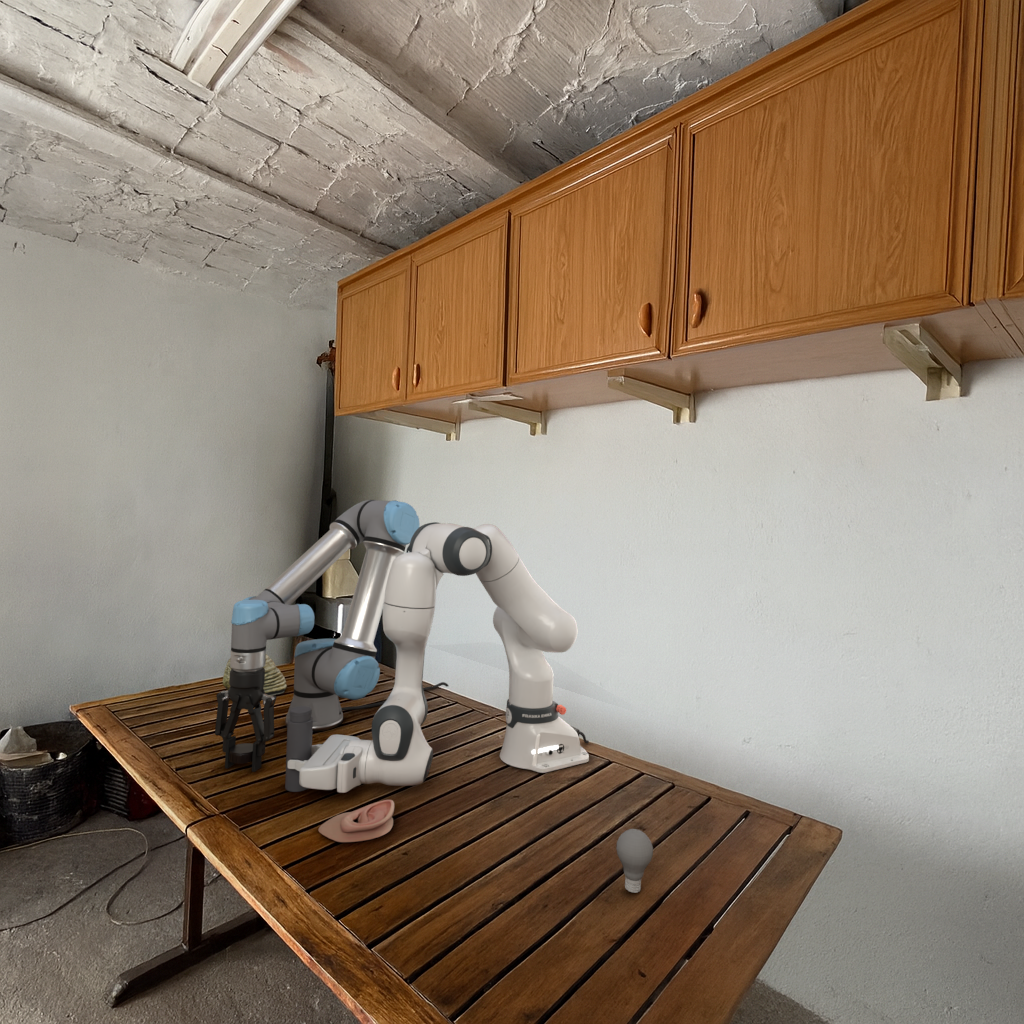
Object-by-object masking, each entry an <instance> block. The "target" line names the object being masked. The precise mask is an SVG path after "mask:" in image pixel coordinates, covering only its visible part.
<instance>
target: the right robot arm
mask: <svg viewBox="0 0 1024 1024" xmlns="http://www.w3.org/2000/svg"><path fill="white" fill-rule="evenodd" d="M405 551H406V552H404V554H401V555H399V556H398V557H396V558H395V560H394V561H393V563H392V566H391V569H390V573H389V576H388V580H387V585H386V590H385V596H384V604H383V610H382V628H383V632H384V634H385V637H386V638H387V639H388V640H389V641H391V642H392V643H393V644H394V646H395V649H396V650H395V651H396V662H395V672H394V676H395V677H394V685H393V688H392V690H391V692H390V693H389V695H388V697H387V698H386V699H385V700H384V701H385V703H384V704H383V705H380V707H379V708H378V710H377V711H376V712H375V714H374V715H373V718H372V721H371V738H372V739H360V738H359V737H358V736H353V735H348V734H347V735H346V734H337V733H336V734H332V735H330V736H329V737H328V738H327V739H326V740H325V741H324V742H323V743H322V744H321V743H318V744H312V757H311V758H310V759H309V760H304V761H300V760H298V758H291V759H290V760H289V761H288V766H287V767H288V768H289V769H295V770H297V771H299V772H300V775H299V784H300V785H301V786H303V787H305V788H308V789H312V790H320V791H333V790H335V789H336V792H337V793H340V794H344V793H348V792H350V791H351V790H352V789H355V788H357V787H359V786H361V785H362V784H363V785H372V784H382V785H386V786H390V787H391V786H392V787H411V786H413V787H414V786H419V785H421V784H423V783H424V782H425V781H426V780H427V778H428V776H429V773H430V770H431V768H432V763H433V758H434V749H433V747H431V746H430V744H429V742H428V741H427V739H426V737H425V735H424V733H423V730H422V725H423V724H424V723H425V721H426V719H427V717H428V713H429V706H428V701H427V697H426V695H425V691H423V688H424V685H423V677H424V666H425V654H426V647H427V643H428V640H429V638H430V633H431V630H432V627H433V622H434V617H435V610H436V600H437V588H438V586H439V583H440V581H441V579H442V578H443V576H444V574H450V575H454V576H458V577H467V576H471V575H475V576H477V578H478V580H479V582H480V583H481V584H482V586H483V588H484V590H485V591H486V592H487V594H488V596H489V598H490V599H491V601H492V602H493V603H494V605H496V606H497V607H496V608H495V610H494V612H493V616H492V624H493V628H494V629H495V631H496V632H497V634H498V636H499V637H500V639H501V642H502V645H503V648H504V652H505V655H506V656H505V657H506V661H507V664H508V678H509V679H508V698H507V700H506V708H505V722H506V725H505V726H506V727H505V731H504V732H505V733H504V738H503V742H502V746H501V749H500V752H499V758H500V761H502V762H503V763H504V764H507V765H508V766H511V767H514V768H518V769H523V770H529V771H533V772H535V773H536V772H537V773H540V774H544V773H549V772H550V773H551V772H553V771H557V770H561V769H565V768H569V767H570V768H571V767H573V766H578V765H581V764H585V763H589V761H590V756H589V755H590V754H589V753H588V752H587V750H586V749H585V748H584V747H583V746H582V745H581V741H580V736H581V737H582V739H583V742H584V743H585V744H589V743H590V741H589V740H588V739H587V738H586V735H585V733H584V732H582V731H580V729H579V728H576V727H574V726H572V725H570V724H569V723H568V722H567V721H565V720H564V719H563V718H562V717H560V716H564V715H565V714H566V713H567V708H566V707H565V706H563V704H559V703H557V702H556V701H554V699H553V698H554V679H555V678H554V677H555V674H554V671H553V668H552V666H551V665H550V663H549V662H548V661H547V659H546V656H545V654H544V653H555V654H556V653H557V654H558V653H561V654H562V653H565V652H567V651H569V650H570V649H571V648H572V647H573V646H574V645H575V642H576V641H577V637H578V633H579V632H578V631H579V630H578V623H577V621H576V618H575V617H574V616H573V615H572V614H571V613H570V612H567V611H566V610H565V609H563V608H562V607H561V606H560V605H559V604H558V603H557V602H556V601H554V600H553V599H552V598H551V596H550V595H549V594H548V593H547V592H546V591H545V590H544V589H543V588H542V587H541V586H540V585H539V584H538V583H537V581H536V580H535V579H534V577H533V576H532V575H531V573H530V572H529V570H528V568H527V567H526V565H525V563H524V561H523V560H522V558H521V556H520V554H519V553H518V552H517V550H516V549H515V547H514V545H513V544H512V542H511V541H510V539H508V537H507V536H506V535H505V534H504V532H503V531H502V530H501V529H500V528H499V527H498V526H496V525H494V524H493V523H492V524H491V523H484V524H479V525H477V526H475V527H474V528H473V527H470V526H464V525H461V524H457V523H450V522H449V523H448V522H447V523H446V522H445V523H443V522H442V523H441V522H438V521H437V522H435V521H434V522H428V523H425V524H423V525H420V527H419V528H418V529H417V530H416V531H415V533H414V534H413V536H412V538H411V541H410V544H408V546H407V547H406V550H405ZM559 715H560V716H559Z"/></svg>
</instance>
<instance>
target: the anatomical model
mask: <svg viewBox="0 0 1024 1024" xmlns="http://www.w3.org/2000/svg"><path fill="white" fill-rule="evenodd" d="M394 812H395V801H394V800H392V799H384V800H380V801H377V802H373V803H370V804H368V805H365V806H363V807H360V808H357V809H355V810H353V811H348V812H343V813H340V814H337V815H334V816H333V817H331V818H330V819H328V820H326V821H325V822H323V823H322V824H321V825H320V826H319V827H318V829H317V830H318V832H319V834H321V835H322V836H324V837H325V838H328V839H330V840H332V841H334V842H337V843H355V842H363V841H370V840H374V839H376V838H380V837H382V836H384V835H386V834H388V833H389V832H390V831H391V830H392V828H393V826H394V818H393V815H394Z"/></svg>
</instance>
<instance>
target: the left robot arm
mask: <svg viewBox="0 0 1024 1024" xmlns="http://www.w3.org/2000/svg"><path fill="white" fill-rule="evenodd" d="M420 524H421V523H420V518H419V515H418V514H417V511H416V509H415V508H414V507H413V506H412V505H411V504H410V503H408V502H405V501H399V500H381V499H366V500H362V501H360V502H357V503H356V504H354V505H352V506H351V507H350V508H348V509H347V510H345V511H344V512H343V513H342V514H340V515H339V516H338V517H337V518H336V519H335V520H334V521H332V522H331V523H330V524H329V530H328V531H327V532H326V533H324V535H322V537H320V538H319V539H318V540H317V541H316V542H315V543H314V544H313V545H311V546H310V547H309V548H308V549H307V550H306V551H305V552H304V553H303V554H302V555H301V556H299V557H298V559H296V560H294V562H293V563H292V564H290V565H289V566H288V567H287V568H286V569H285V570H284V571H283V572H282V573H281V574H280V575H279V576H278V577H277V578H275V579H274V580H273V581H272V582H271V583H270V584H269V585H268V586H267V587H266V588H265V589H264V590H262V591H260V593H259V594H258V595H255V596H254V595H253V596H248V597H246V598H243V599H242V600H238V601H236V602H235V603H234V604H233V607H232V614H231V621H230V623H231V639H230V657H231V659H230V658H229V659H230V667H231V668H232V669H231V670H230V678H229V685H230V688H229V690H227V689H225V690H222V691H219V692H218V693H216V695H215V696H216V700H217V709H216V719H215V727H214V735H215V736H217V737H218V736H219V737H221V738H222V752H223V753H224V754H225V755H224V769H226V770H227V769H229V768H231V767H233V766H234V765H235V764H236V763H232V762H230V761H229V752H230V748H231V747H233V746H235V745H237V744H236V743H237V736H236V735H234V734H235V732H234V731H235V729H236V727H237V723H238V720H239V717H240V714H241V712H242V710H246V711H247V713H248V715H249V716H250V720H251V724H252V728H253V732H254V737H255V740H256V741H254V742H253V743H252V744H253V755H252V762H251V772H252V773H256V772H257V771H258V770H260V769H261V768H262V760H263V759H262V757H263V756H264V755H265V754H266V742H269V741H270V740H271V739H272V738H274V737H275V704H276V700H277V696H276V695H272V696H269V695H267V694H265V691H264V688H263V686H264V681H265V669H264V668H263V667H264V666H265V660H266V654H267V652H266V651H267V641H270V640H276V639H283V638H291V637H299V636H304V635H307V634H309V633H310V632H311V631H312V630H313V628H314V626H315V612H314V610H313V608H312V607H311V606H310V605H308V604H306V603H301V604H300V603H296V604H293V603H294V602H295V601H296V600H297V599H298V598H299V597H300V596H301V595H302V594H304V593H305V592H306V590H307V589H309V588H310V587H311V586H312V585H313V584H314V583H315V582H316V581H317V580H318V579H319V578H320V577H321V576H322V575H323V574H324V573H326V572H327V571H328V569H330V568H331V567H332V566H333V565H334V564H335V563H336V562H337V561H338V560H339V559H340V558H341V557H342V556H343V555H344V554H345V553H346V552H347V551H349V550H354V549H355V548H357V546H359V545H360V544H361V543H362V544H363V545H364V547H365V550H366V551H365V554H364V558H363V560H362V561H363V562H362V564H361V568H360V572H359V575H358V577H357V582H356V585H355V589H354V591H353V596H352V599H351V603H350V606H349V609H348V612H347V617H346V618H345V619H346V620H345V623H344V625H343V626H344V627H343V630H342V633H341V636H339V637H338V638H317V639H308V640H304V641H300V642H299V643H297V645H296V646H295V650H294V655H293V657H294V672H293V673H294V674H293V695H292V696H293V697H292V699H291V702H290V704H289V708H288V711H287V713H286V715H285V726H286V727H287V724H288V719H289V718H290V714H289V713H290V709H291V708H294V707H298V706H307V707H310V708H311V710H312V714H311V717H313V731H312V733H316V732H325V731H329V730H332V729H335V728H337V727H339V726H340V725H342V723H343V722H344V714H343V711H344V712H345V711H353V710H364V709H369V708H370V709H371V708H375V707H379V706H382V705H383V704H384V703H385V701H386V700H383V701H379V702H375V703H370V704H363V705H356V706H355V705H353V706H344V707H343V706H341V702H340V699H339V698H341V699H347V700H352V701H357V700H360V699H363V698H365V697H366V696H367V695H368V694H370V693H372V691H373V690H374V689H375V687H376V686H377V684H378V682H379V679H380V676H381V667H379V665H380V664H379V662H378V661H377V660H376V657H377V652H378V649H377V647H376V646H375V644H374V643H375V638H376V635H377V631H378V628H379V625H380V624H379V623H380V621H381V616H382V615H383V604H384V596H385V590H386V585H387V580H388V576H389V573H390V569H391V566H392V563H393V561H394V560H395V558H396V557H398V556H399V555H401V554H404V553H405V551H406V549H407V545H409V544H410V541H411V538H412V536H413V534H414V533H415V531H416V530H417V529H418V528H419V527H421V525H420ZM432 686H433V687H432ZM441 686H445V687H446V688H447V687H449V684H448V683H447V682H444V681H443V682H439V683H437V684H434V685H431V686H425V687H423V691H424V692H425V691H430V690H434V689H437V688H439V687H441ZM230 699H231V702H232V703H231V706H230V709H229V705H230ZM261 702H262V704H261ZM262 705H263V714H262Z"/></svg>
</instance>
